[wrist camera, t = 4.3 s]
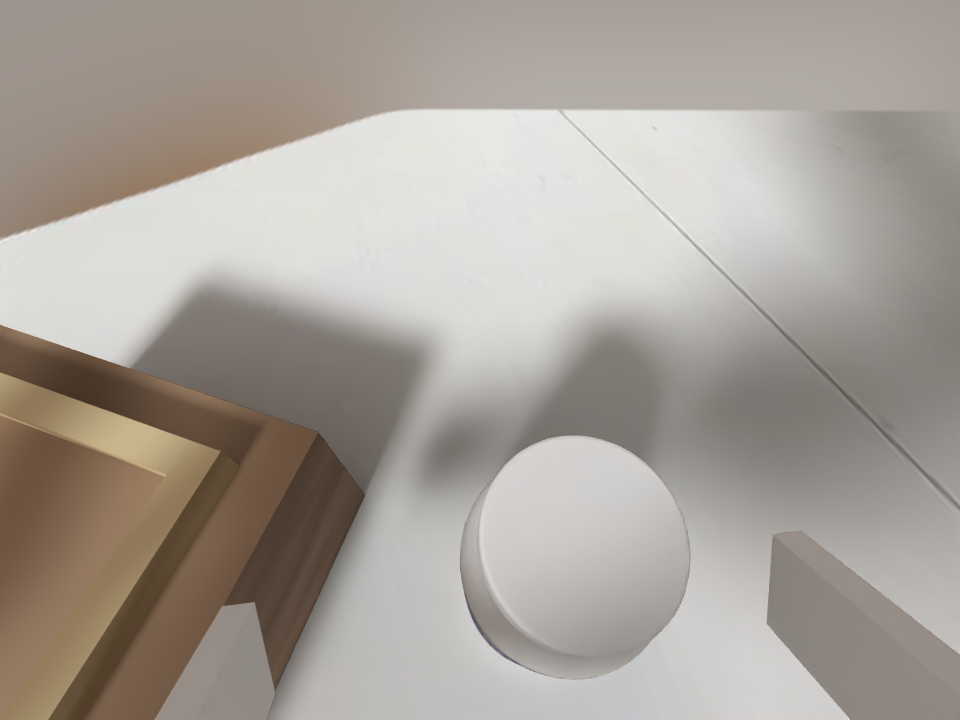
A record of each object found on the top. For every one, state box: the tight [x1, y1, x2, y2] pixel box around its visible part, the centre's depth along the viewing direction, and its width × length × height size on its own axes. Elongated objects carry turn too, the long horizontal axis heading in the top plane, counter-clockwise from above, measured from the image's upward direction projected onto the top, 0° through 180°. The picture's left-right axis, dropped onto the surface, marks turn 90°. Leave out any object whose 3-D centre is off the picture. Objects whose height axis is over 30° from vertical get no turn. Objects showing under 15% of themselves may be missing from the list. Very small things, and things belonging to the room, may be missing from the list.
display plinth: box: [0, 325, 365, 720], centre depth 15 cm, size 14×14×8 cm
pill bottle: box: [460, 435, 690, 680], centre depth 15 cm, size 6×6×10 cm
